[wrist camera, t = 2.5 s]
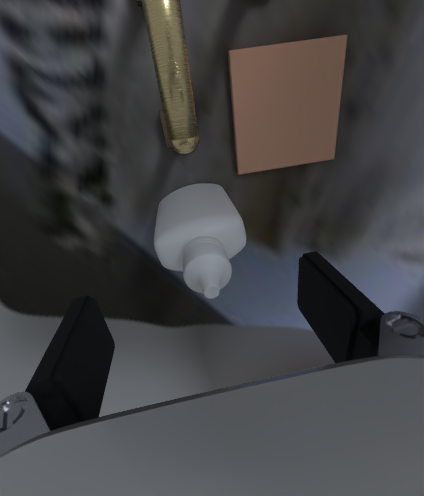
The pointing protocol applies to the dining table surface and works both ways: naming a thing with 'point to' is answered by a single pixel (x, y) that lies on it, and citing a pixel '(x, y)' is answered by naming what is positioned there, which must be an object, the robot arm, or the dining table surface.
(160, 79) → the bent handrail
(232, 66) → the terracotta tile
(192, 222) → the eye dropper bottle
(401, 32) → the dining table surface
